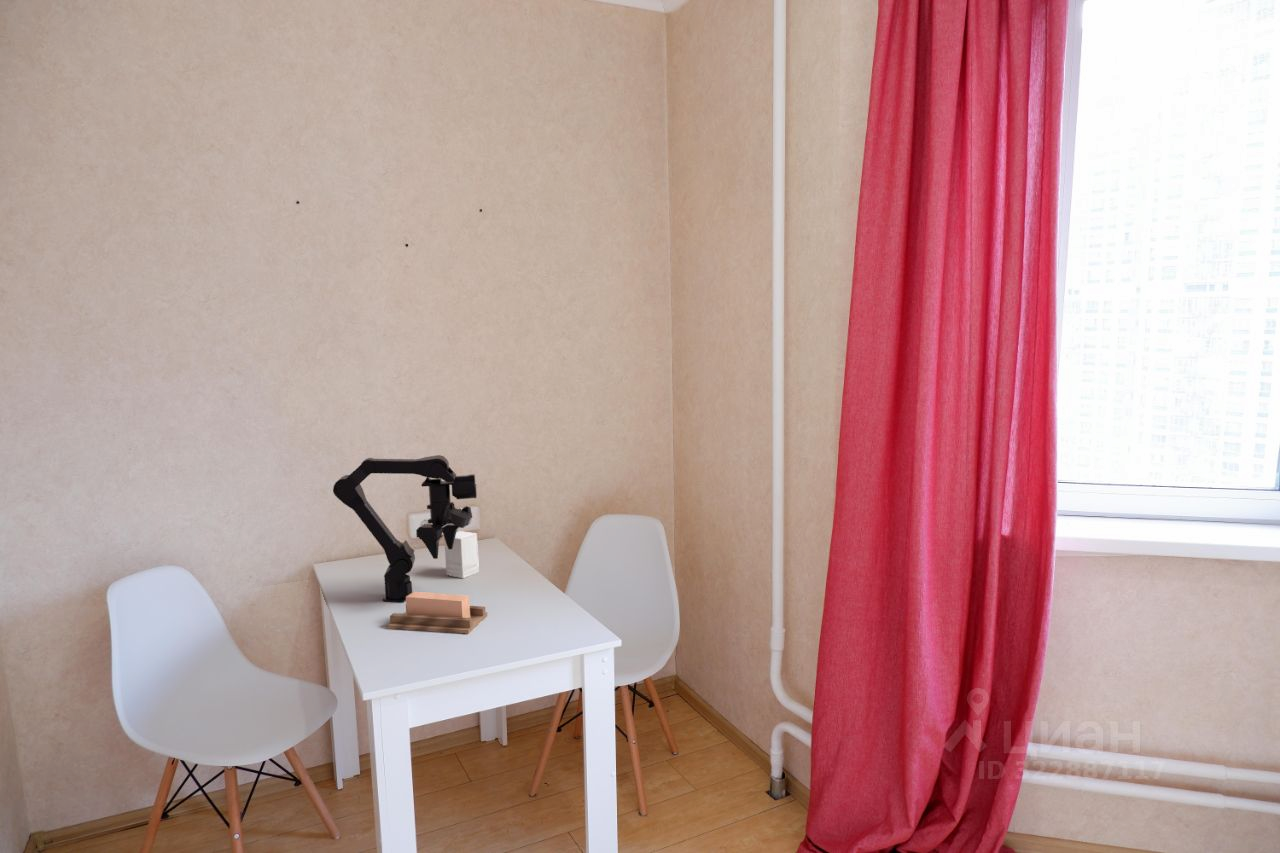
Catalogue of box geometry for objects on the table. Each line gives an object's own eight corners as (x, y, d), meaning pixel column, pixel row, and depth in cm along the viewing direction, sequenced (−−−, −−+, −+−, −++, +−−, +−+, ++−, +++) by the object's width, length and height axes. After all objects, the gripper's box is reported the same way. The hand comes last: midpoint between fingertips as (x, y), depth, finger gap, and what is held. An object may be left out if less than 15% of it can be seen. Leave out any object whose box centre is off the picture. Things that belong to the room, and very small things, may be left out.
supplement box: (480, 572, 236) (478, 533, 235) (462, 579, 230) (460, 538, 228) (463, 568, 240) (461, 530, 239) (445, 575, 234) (443, 535, 232)
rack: (388, 628, 192) (387, 617, 192) (411, 611, 204) (410, 600, 204) (468, 633, 188) (467, 622, 187) (487, 615, 199) (487, 605, 199)
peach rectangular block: (407, 619, 196) (405, 596, 195) (415, 613, 200) (414, 591, 199) (462, 623, 192) (461, 601, 191) (470, 617, 196) (469, 595, 195)
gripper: (451, 508, 203) (454, 565, 205) (480, 493, 221) (482, 545, 223) (413, 507, 205) (417, 563, 207) (445, 493, 223) (448, 544, 225)
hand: (443, 553), depth 215 cm, fingers open, 9 cm apart
